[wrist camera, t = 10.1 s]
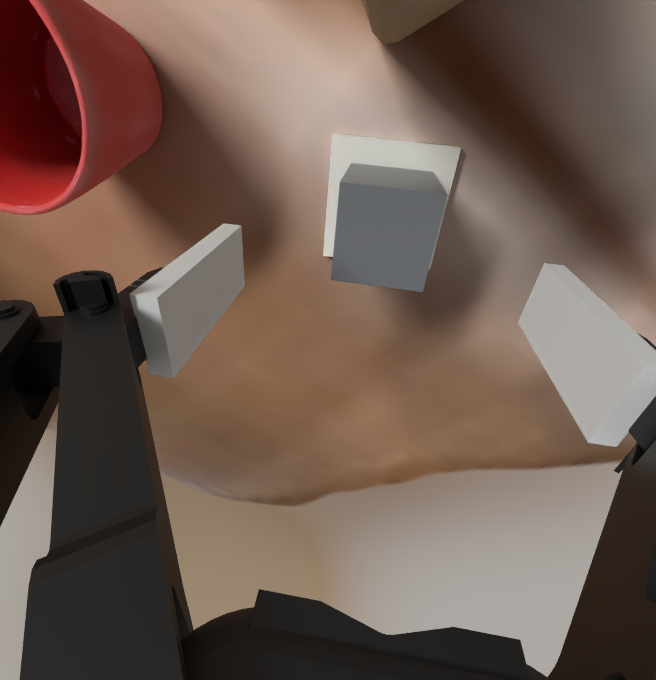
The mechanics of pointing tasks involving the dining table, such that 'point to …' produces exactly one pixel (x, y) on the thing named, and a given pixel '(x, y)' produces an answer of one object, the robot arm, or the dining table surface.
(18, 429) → the robot arm
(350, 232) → the grey rectangular block
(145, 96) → the flower pot
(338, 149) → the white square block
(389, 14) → the wooden block
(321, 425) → the dining table surface
